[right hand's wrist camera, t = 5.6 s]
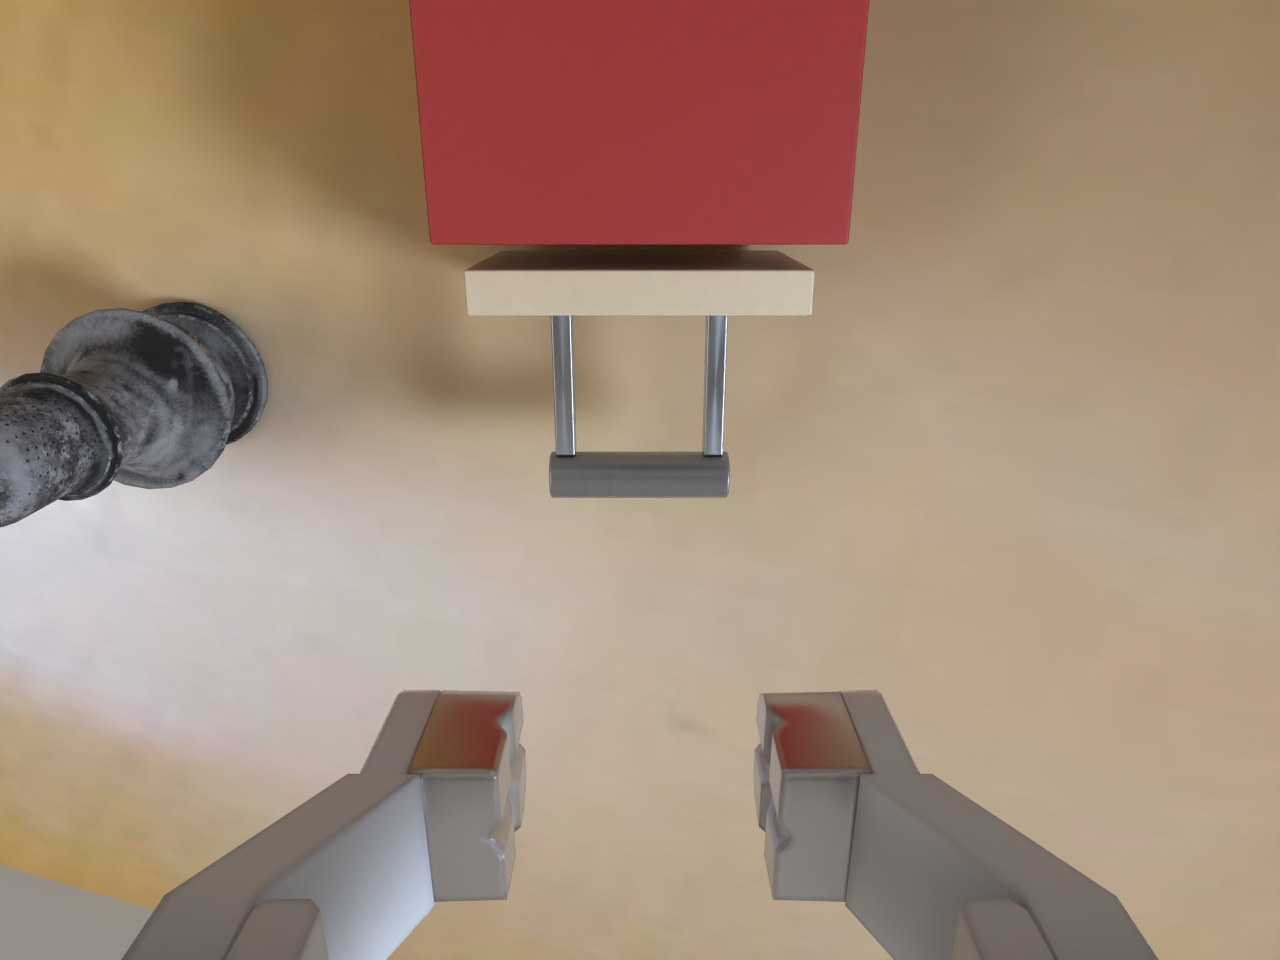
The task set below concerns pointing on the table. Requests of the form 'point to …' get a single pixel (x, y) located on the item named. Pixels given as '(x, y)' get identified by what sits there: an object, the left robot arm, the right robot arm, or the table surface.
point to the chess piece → (127, 405)
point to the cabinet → (639, 120)
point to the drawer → (639, 290)
